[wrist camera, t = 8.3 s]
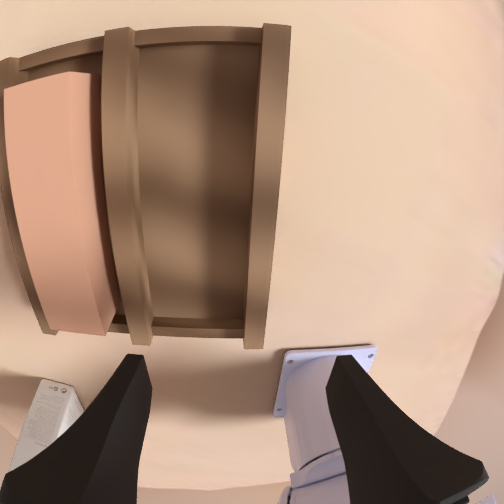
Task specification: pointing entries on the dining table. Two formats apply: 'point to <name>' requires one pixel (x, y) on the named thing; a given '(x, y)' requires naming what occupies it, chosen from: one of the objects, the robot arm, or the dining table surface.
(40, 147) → the clay strip
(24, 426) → the skincare box
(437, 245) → the dining table surface
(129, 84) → the rack
